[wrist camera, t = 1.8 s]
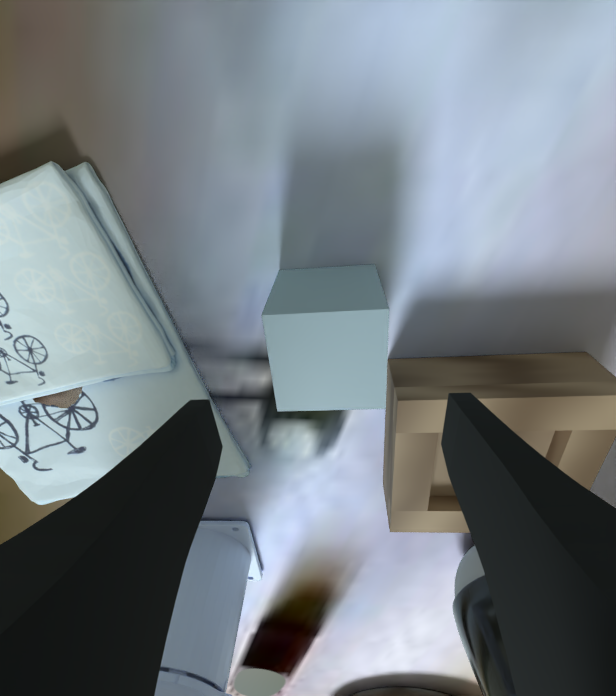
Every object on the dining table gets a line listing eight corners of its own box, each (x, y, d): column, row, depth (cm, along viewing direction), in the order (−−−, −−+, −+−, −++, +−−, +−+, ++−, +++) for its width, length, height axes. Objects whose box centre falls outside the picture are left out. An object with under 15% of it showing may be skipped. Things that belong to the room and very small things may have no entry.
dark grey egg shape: (588, 500, 24) (893, 936, 11) (574, 581, 29) (770, 945, 16) (433, 517, 26) (534, 906, 13) (444, 590, 31) (525, 922, 18)
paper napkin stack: (95, 151, 15) (62, 154, 14) (257, 466, 25) (251, 492, 23) (-206, 264, 19) (-264, 278, 17) (37, 500, 29) (17, 525, 27)
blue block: (289, 350, 19) (277, 411, 15) (279, 269, 17) (261, 315, 13) (373, 346, 19) (385, 408, 15) (374, 263, 17) (389, 309, 12)
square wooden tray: (382, 482, 24) (389, 532, 21) (387, 359, 19) (397, 400, 16) (537, 482, 23) (568, 533, 20) (586, 351, 18) (636, 395, 15)
